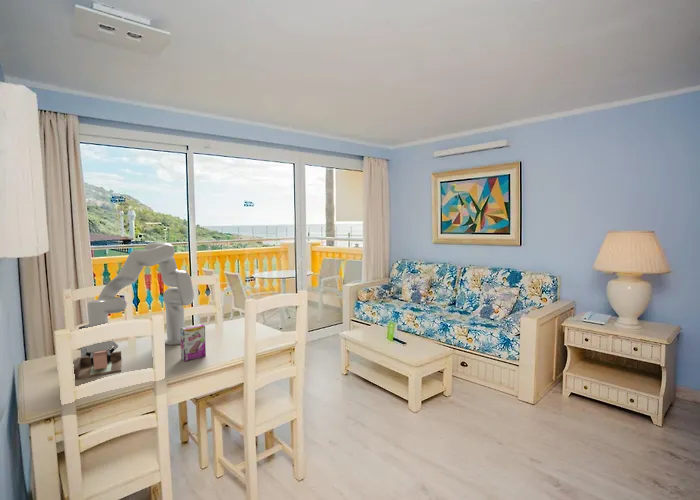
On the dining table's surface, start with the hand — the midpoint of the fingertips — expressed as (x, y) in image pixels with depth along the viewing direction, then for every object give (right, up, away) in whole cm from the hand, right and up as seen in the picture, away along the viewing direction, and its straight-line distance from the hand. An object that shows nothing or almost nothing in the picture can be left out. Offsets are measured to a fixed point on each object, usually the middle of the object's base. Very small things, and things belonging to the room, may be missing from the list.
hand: (101, 363), depth 177 cm
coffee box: (-18, -2, +20) cm, 27 cm away
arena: (-1, -3, +1) cm, 3 cm away
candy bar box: (+37, -2, +15) cm, 40 cm away
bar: (0, -1, 0) cm, 1 cm away
